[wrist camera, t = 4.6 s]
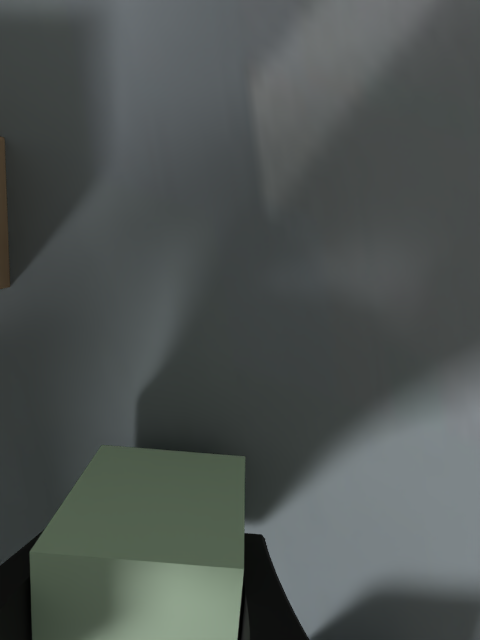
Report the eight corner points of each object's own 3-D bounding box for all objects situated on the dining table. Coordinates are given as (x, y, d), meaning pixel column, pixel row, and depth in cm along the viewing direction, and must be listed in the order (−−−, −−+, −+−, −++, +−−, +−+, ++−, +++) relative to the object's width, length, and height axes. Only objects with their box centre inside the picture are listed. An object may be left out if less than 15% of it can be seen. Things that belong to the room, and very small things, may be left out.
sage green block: (100, 567, 14) (34, 719, 10) (101, 445, 13) (29, 551, 9) (234, 578, 14) (228, 734, 10) (245, 456, 13) (244, 569, 9)
